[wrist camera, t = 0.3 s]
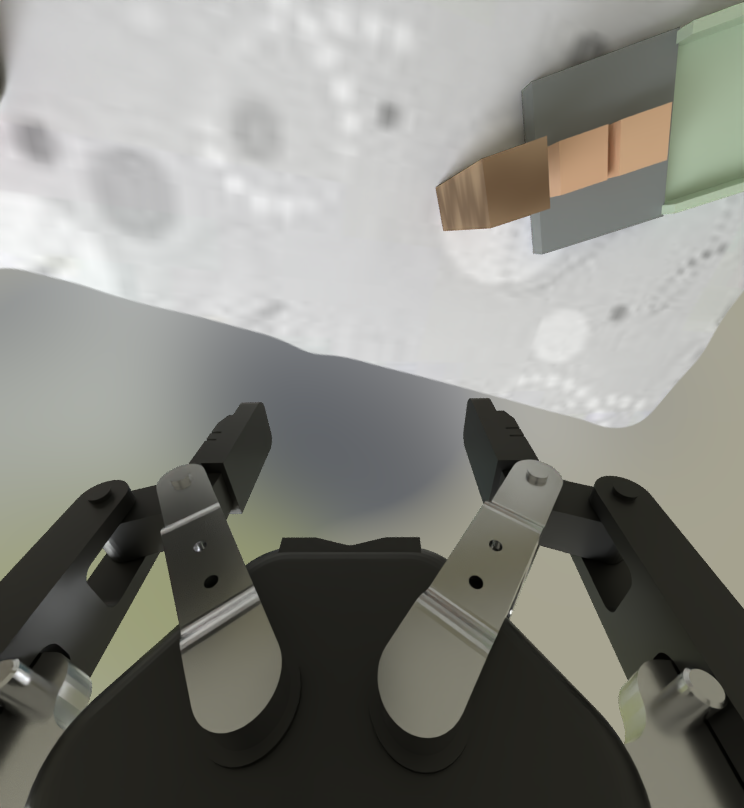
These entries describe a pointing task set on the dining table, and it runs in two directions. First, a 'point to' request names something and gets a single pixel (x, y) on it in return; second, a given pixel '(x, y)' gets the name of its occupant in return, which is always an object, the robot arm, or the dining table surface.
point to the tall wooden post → (497, 189)
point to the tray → (707, 112)
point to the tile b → (638, 140)
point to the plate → (589, 109)
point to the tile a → (578, 161)
